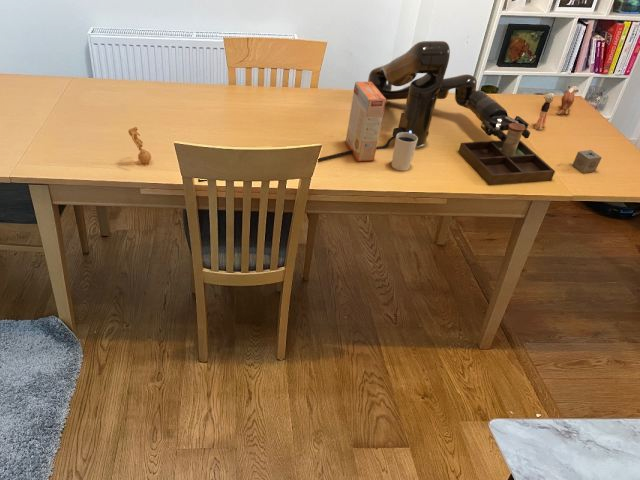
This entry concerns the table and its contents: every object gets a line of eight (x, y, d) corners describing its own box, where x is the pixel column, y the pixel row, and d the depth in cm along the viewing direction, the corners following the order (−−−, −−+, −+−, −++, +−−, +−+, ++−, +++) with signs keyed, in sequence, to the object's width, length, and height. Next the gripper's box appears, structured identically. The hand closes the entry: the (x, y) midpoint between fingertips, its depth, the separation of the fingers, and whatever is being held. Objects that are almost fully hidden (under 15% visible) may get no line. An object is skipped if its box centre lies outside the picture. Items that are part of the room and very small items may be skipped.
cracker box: (375, 161, 188) (387, 98, 175) (357, 162, 187) (367, 99, 174) (362, 141, 199) (372, 80, 185) (345, 141, 198) (354, 80, 184)
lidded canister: (502, 158, 191) (512, 130, 185) (496, 151, 195) (506, 122, 188) (517, 158, 192) (527, 129, 185) (510, 150, 195) (520, 122, 189)
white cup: (395, 158, 190) (401, 130, 184) (414, 165, 187) (421, 136, 181) (386, 166, 186) (392, 137, 179) (405, 173, 183) (412, 144, 177)
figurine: (151, 169, 179) (148, 132, 171) (131, 169, 178) (127, 133, 170) (151, 156, 185) (148, 120, 177) (132, 156, 184) (128, 120, 177)
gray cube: (595, 171, 189) (601, 157, 186) (582, 172, 188) (588, 159, 185) (584, 163, 193) (590, 149, 189) (572, 165, 191) (578, 151, 188)
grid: (489, 185, 180) (492, 175, 178) (458, 151, 196) (460, 142, 193) (551, 180, 183) (555, 171, 181) (516, 148, 199) (519, 139, 197)
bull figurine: (572, 106, 228) (581, 85, 223) (566, 118, 219) (574, 97, 214) (561, 103, 230) (569, 82, 224) (554, 115, 221) (562, 94, 216)
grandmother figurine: (545, 132, 210) (559, 97, 201) (534, 130, 210) (547, 96, 202) (542, 122, 215) (555, 89, 207) (531, 121, 216) (544, 88, 207)
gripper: (504, 120, 202) (531, 145, 191) (468, 124, 199) (493, 150, 188) (512, 100, 197) (540, 124, 186) (474, 104, 194) (501, 129, 183)
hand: (516, 137), depth 187 cm, fingers open, 8 cm apart
